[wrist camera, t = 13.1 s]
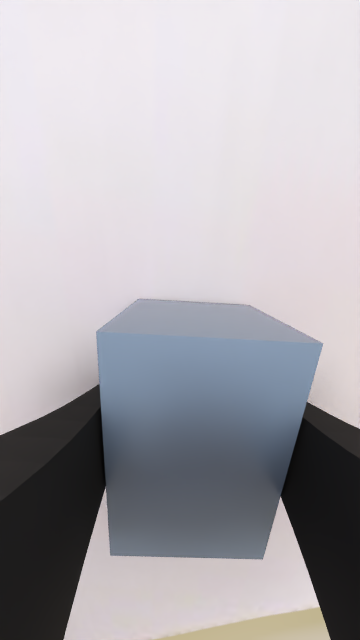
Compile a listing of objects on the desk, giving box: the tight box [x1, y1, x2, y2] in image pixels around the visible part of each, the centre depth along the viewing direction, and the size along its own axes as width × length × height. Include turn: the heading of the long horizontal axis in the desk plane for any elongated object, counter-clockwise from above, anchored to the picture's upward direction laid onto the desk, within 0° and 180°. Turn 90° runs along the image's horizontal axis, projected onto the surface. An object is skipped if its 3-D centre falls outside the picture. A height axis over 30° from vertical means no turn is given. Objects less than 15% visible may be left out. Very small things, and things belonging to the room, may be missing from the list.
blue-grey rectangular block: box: [96, 299, 323, 559], centre depth 8 cm, size 9×6×5 cm, turn 177°
